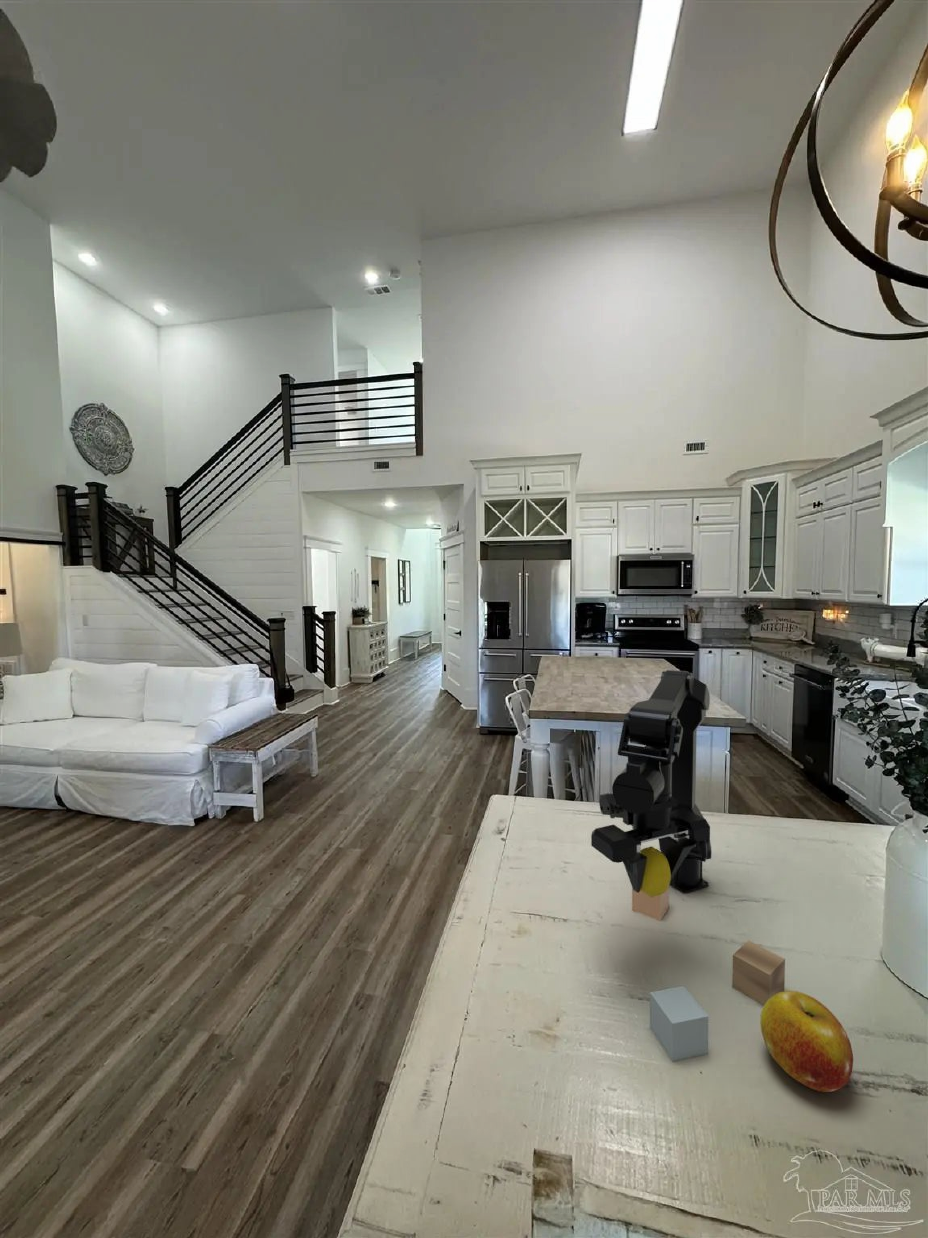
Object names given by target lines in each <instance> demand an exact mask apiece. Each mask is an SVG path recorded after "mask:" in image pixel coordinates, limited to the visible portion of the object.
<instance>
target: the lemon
mask: <svg viewBox="0 0 928 1238" xmlns="http://www.w3.org/2000/svg"><path fill="white" fill-rule="evenodd" d="M641 854H643V855H644V856H646V857H647V862H646V867H645V872H644V877H643V882H642V886H641V889H640V890H641V891H642V892H644V893H645V894H647V895H649V896H650V897H654V896H659V895H661V894H663V893H664V892H665V891H666V890H667V889H668V887H669V888H670V885H671V884H670V879H671V872H670V867H669V863H668V860H667V858H666V857H665V855H664V854H663V853H662V852H661V850H660V849H658V848H655V847H654V846H648V847H644V848H642V849H641Z"/></svg>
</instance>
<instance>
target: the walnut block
mask: <svg viewBox="0 0 928 1238" xmlns="http://www.w3.org/2000/svg"><path fill="white" fill-rule="evenodd" d="M785 973H786V958H784V957H782V956H780V955H778V954H776V953H774V952H772V951H770V950H768V949H766V948H764V947H763V946H761V945H759V944H757V943H755V942H753V941H751V940H749V939H748V940H747V941H746V942H745V943H744V944H743V945H742V946H741V947H740V948H737V950H736V951H735V952H733V954H732V974H731V975H732V977H731V978H732V979H731V980H732V983H731V984H732V985H731V987H732V988H733V989H735V990H737V991H738V992H740V993H742V994H743V995H745V996H747V997H748V998H750V999H752V1000H753V1001H755V1002H757V1003H758V1004H760V1005H761V1006H762V1007H763V1006H764V1005H765V1003H766V1002H767V1001H768V999H770V998H771V997H772V996H774V995H775V994H777V993H779V992H783V991H785V980H786V979H785V978H786V974H785Z"/></svg>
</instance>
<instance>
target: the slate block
mask: <svg viewBox="0 0 928 1238" xmlns="http://www.w3.org/2000/svg"><path fill="white" fill-rule="evenodd" d="M649 1029H650V1031H652V1033H653V1035H654V1036H655V1037H656V1039H657V1040H658V1042H659V1044H660V1045H661V1047H662V1048H663V1050H664V1051H665V1053H666V1054H667V1057H668V1058H669V1059H670V1060H671V1062H676V1061H680V1060H685V1059H689V1058H695V1057H699V1056H702V1055H707V1054H709V1015H708V1014H707V1012H705V1011H704V1008H702V1007H701V1006H700V1004H699V1003H698V1002H697V1000H696V999H695V998H694V997H693V995H692V994H691V993H690V992H689V990H687V988H686V987H685V986H684V985H682V986H677V987H676V986H675V987H670V988H667V989H662V990H661V989H660V990H655V991H651V992H649Z"/></svg>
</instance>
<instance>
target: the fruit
mask: <svg viewBox="0 0 928 1238" xmlns="http://www.w3.org/2000/svg"><path fill="white" fill-rule="evenodd" d="M760 1032H761V1035H762V1037H763V1038H762V1039H763V1041H764V1044H765V1046H766V1048H767V1050H768V1052H769V1054H770V1055H771V1057H772V1058H773V1060H775V1062H776V1063H777V1064H778V1065H779V1066H780V1067H781V1069H782V1070H783V1071H784V1072H785V1073H786V1074H788V1075H789V1076H790V1077H792V1078H793V1079H794V1080H795V1081H797V1082H799V1083H800V1084H801V1085H803V1086H805V1087H807V1088H809V1089H812V1090H815V1091H817V1092H824V1093H831V1092H835V1091H838V1090H839V1091H840V1090H841V1089H843V1087H844V1086H846V1085H847V1084H848V1082H849V1080H850V1079H851V1077H852V1074H853V1067H854V1065H853V1064H854V1053H853V1048H852V1044H851V1041H850V1038H849V1036H848V1033H847V1032H846V1030H845V1028H844V1027H843V1025H842V1023H841V1022H840V1020H838V1018H837V1017H836V1016H835V1014H834V1013H833V1011H831V1010H830V1009H829V1008H828V1007H827V1006H825V1004H823V1003H822V1002H821V1001H819V1000H818V999H816V998H814V997H813V996H811V995H808V994H806V993H803V992H801V991H795V990H784V991H783V992H779V993H777V994H775V995H774V996H772V997H771V998H770V999H768V1001H767V1002H766V1003H765V1005H764V1006H763V1005H762V1010H761V1013H760Z"/></svg>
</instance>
